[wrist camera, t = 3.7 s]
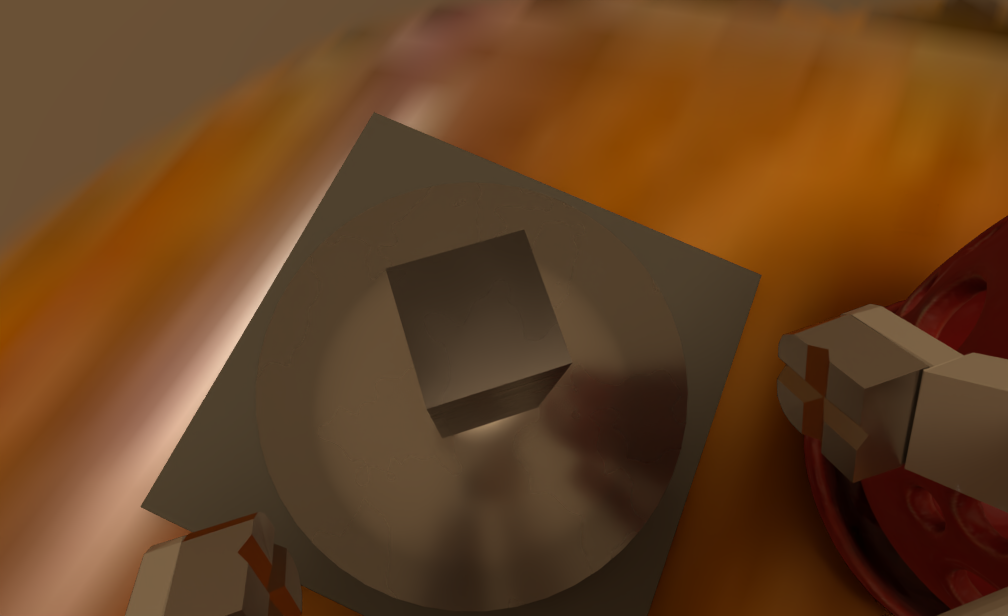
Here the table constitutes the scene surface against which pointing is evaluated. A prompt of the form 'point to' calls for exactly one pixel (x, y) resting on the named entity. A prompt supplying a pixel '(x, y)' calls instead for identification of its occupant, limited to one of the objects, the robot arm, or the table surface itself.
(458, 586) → the lid
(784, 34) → the table surface
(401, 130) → the mat
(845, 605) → the table surface
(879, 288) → the table surface
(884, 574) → the plant pot
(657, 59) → the table surface
